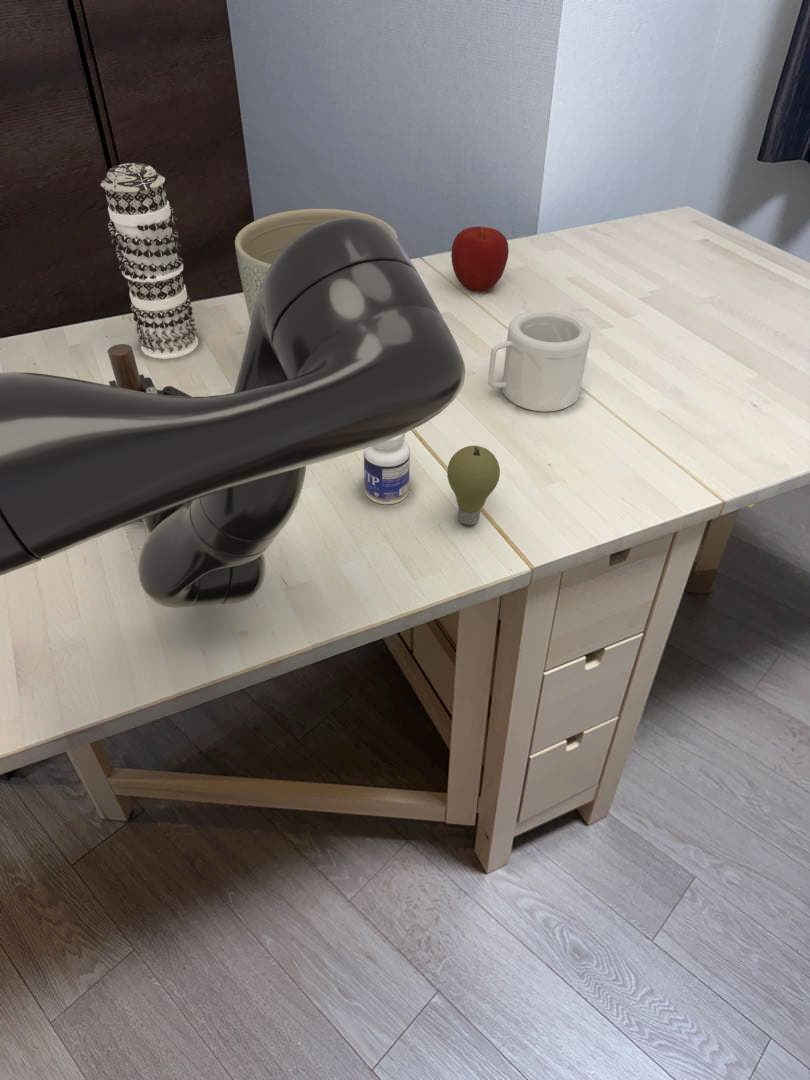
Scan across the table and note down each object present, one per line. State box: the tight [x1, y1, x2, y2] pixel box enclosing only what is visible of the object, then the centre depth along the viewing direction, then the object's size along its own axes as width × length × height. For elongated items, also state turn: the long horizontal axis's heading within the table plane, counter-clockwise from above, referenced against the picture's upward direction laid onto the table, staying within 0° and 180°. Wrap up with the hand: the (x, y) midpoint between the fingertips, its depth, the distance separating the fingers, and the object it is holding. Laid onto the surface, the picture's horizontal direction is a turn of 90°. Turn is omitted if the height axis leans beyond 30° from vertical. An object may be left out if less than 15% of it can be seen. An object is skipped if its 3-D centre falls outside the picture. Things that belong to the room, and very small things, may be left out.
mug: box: [487, 309, 592, 412], centre depth 100 cm, size 14×11×10 cm
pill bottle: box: [363, 433, 411, 505], centre depth 85 cm, size 5×5×9 cm
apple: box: [450, 226, 510, 293], centre depth 125 cm, size 10×10×10 cm
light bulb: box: [446, 445, 501, 526], centre depth 80 cm, size 6×6×10 cm
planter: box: [234, 208, 399, 324], centre depth 102 cm, size 21×21×19 cm
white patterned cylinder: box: [100, 162, 199, 360], centre depth 104 cm, size 9×9×25 cm
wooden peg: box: [107, 343, 143, 392], centre depth 86 cm, size 4×7×14 cm, turn 116°
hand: (127, 385), depth 87 cm, fingers closed on wooden peg, 2 cm apart
